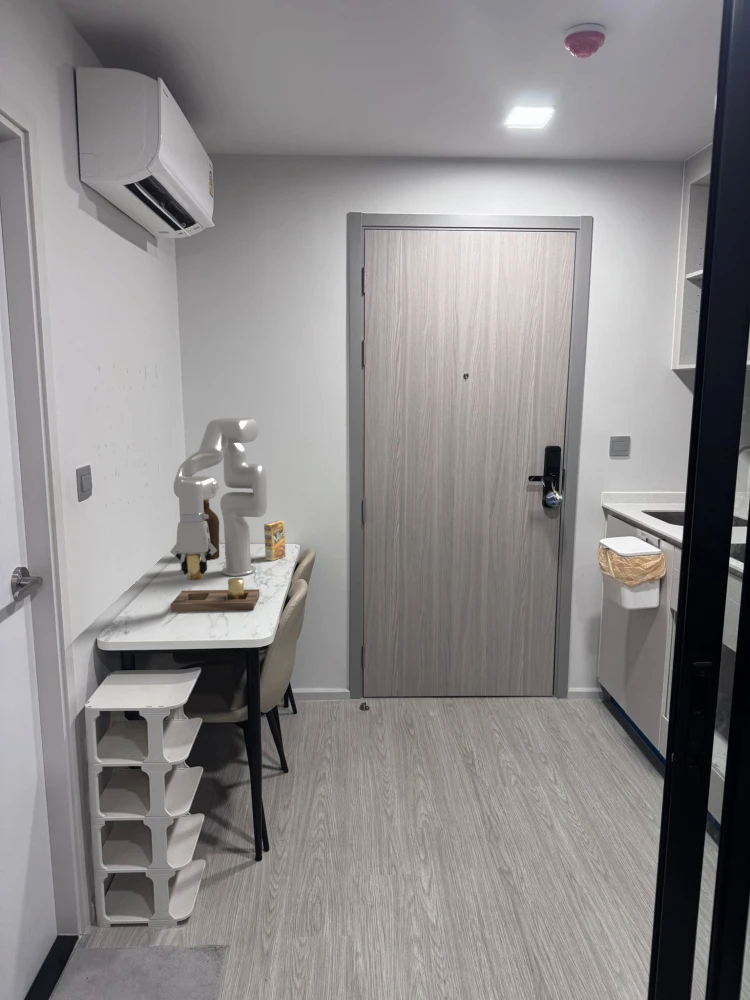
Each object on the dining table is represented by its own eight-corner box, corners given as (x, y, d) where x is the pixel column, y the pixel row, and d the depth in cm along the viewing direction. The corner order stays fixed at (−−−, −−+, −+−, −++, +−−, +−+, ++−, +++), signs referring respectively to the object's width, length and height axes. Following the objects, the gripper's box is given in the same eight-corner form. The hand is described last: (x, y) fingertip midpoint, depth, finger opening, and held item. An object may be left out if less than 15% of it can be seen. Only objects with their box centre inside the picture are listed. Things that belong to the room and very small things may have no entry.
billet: (189, 576, 216) (188, 552, 215) (204, 576, 216) (203, 552, 215) (185, 580, 211) (184, 556, 210) (201, 580, 211) (199, 556, 210)
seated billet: (230, 601, 218) (229, 577, 217) (245, 600, 218) (244, 577, 217) (227, 606, 213) (226, 582, 212) (243, 605, 214) (242, 582, 212)
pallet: (182, 600, 222) (182, 590, 222) (259, 599, 223) (259, 589, 223) (171, 614, 209) (170, 604, 208) (253, 613, 209) (253, 602, 209)
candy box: (273, 561, 271) (271, 525, 269) (264, 560, 274) (263, 524, 271) (286, 556, 279) (284, 521, 276) (278, 555, 281) (276, 520, 278)
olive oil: (225, 555, 282) (222, 498, 278) (212, 561, 272) (209, 502, 268) (203, 553, 285) (200, 497, 281) (190, 559, 275) (186, 501, 271)
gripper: (221, 515, 214) (223, 569, 217) (168, 516, 214) (171, 570, 217) (216, 520, 207) (218, 575, 210) (161, 520, 207) (165, 576, 209)
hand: (194, 572), depth 213 cm, fingers closed on billet, 5 cm apart
